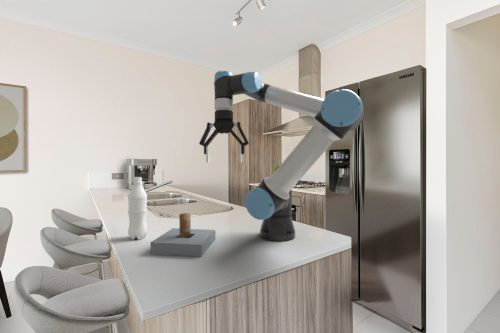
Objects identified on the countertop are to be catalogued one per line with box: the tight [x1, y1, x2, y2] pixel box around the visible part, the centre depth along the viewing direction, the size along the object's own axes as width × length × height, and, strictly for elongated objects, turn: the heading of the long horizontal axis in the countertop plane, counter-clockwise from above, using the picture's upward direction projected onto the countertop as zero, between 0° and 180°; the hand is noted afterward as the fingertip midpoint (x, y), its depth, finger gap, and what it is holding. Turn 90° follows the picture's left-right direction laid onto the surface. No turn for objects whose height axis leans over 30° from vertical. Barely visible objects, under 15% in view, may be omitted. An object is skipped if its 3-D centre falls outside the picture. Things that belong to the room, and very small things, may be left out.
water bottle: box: [127, 176, 148, 241], centre depth 103 cm, size 7×7×25 cm
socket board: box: [150, 227, 216, 258], centre depth 94 cm, size 18×18×4 cm
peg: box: [179, 212, 192, 238], centre depth 94 cm, size 4×4×12 cm
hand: (224, 162), depth 104 cm, fingers open, 13 cm apart
